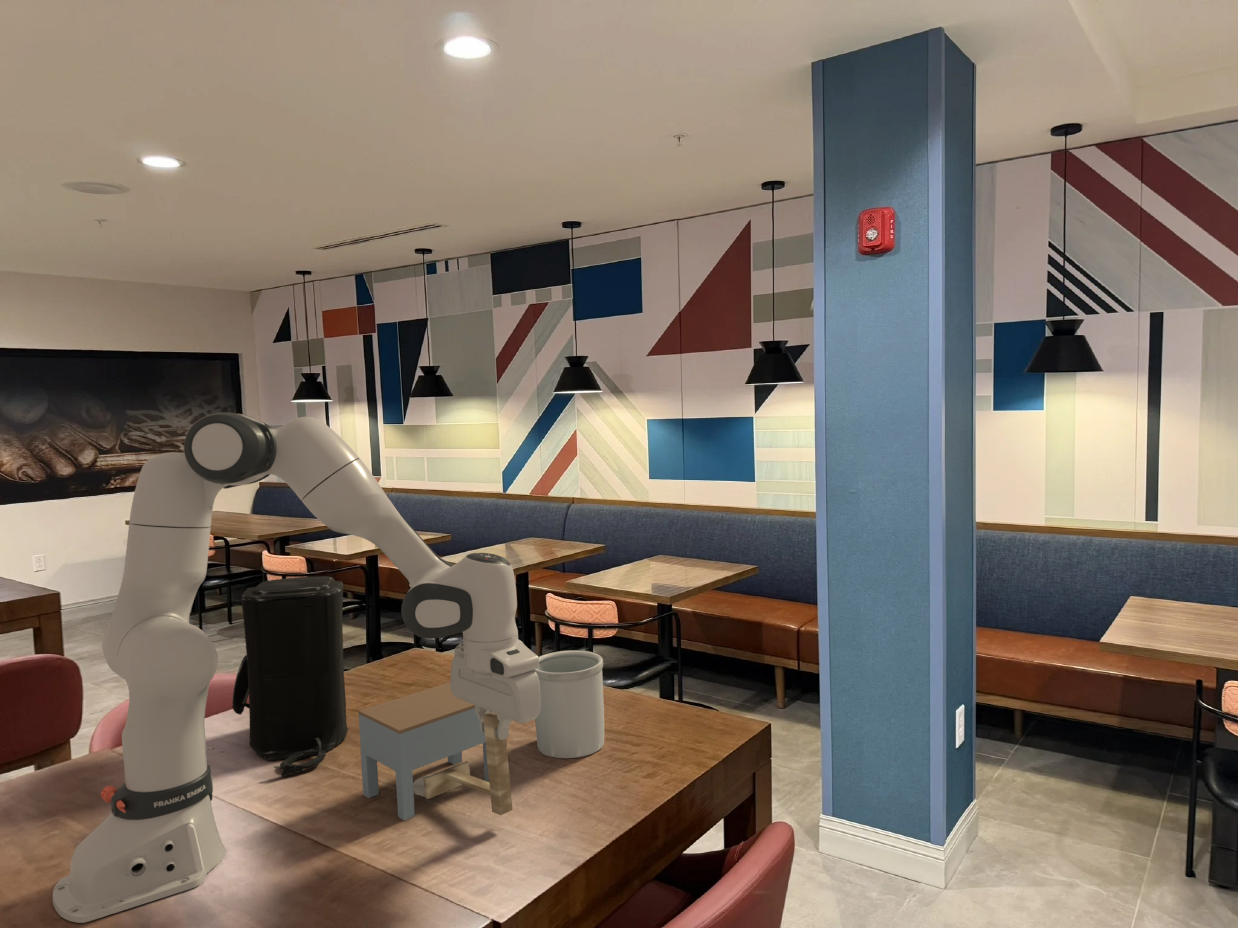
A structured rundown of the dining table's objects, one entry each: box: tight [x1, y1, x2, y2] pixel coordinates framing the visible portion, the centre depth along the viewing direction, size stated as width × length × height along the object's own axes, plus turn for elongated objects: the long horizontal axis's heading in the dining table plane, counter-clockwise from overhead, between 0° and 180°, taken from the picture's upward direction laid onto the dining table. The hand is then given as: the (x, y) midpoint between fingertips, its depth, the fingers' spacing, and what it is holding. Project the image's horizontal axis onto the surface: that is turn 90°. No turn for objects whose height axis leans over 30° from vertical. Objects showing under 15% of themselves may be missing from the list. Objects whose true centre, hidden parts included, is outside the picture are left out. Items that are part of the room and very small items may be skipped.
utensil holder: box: [534, 650, 605, 759], centre depth 165 cm, size 15×15×18 cm
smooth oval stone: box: [413, 774, 448, 797], centre depth 149 cm, size 7×7×1 cm
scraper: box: [423, 712, 514, 816], centre depth 139 cm, size 9×18×16 cm, turn 45°
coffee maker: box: [231, 575, 349, 778], centre depth 172 cm, size 23×32×34 cm
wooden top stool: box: [358, 682, 491, 821], centre depth 149 cm, size 20×14×16 cm
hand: (494, 734), depth 134 cm, fingers closed on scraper, 3 cm apart
